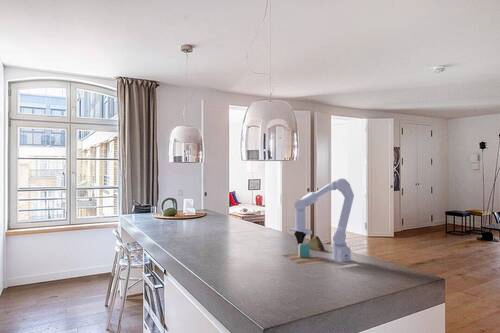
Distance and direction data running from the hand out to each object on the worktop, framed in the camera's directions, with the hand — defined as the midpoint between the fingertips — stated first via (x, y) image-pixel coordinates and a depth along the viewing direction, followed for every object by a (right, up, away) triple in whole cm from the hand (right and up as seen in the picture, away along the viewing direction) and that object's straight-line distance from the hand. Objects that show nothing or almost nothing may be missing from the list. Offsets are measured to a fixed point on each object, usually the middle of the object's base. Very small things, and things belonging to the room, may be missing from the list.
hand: (300, 245), depth 185 cm
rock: (+11, -7, +14) cm, 20 cm away
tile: (+2, -5, -4) cm, 7 cm away
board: (+1, -6, -7) cm, 10 cm away
